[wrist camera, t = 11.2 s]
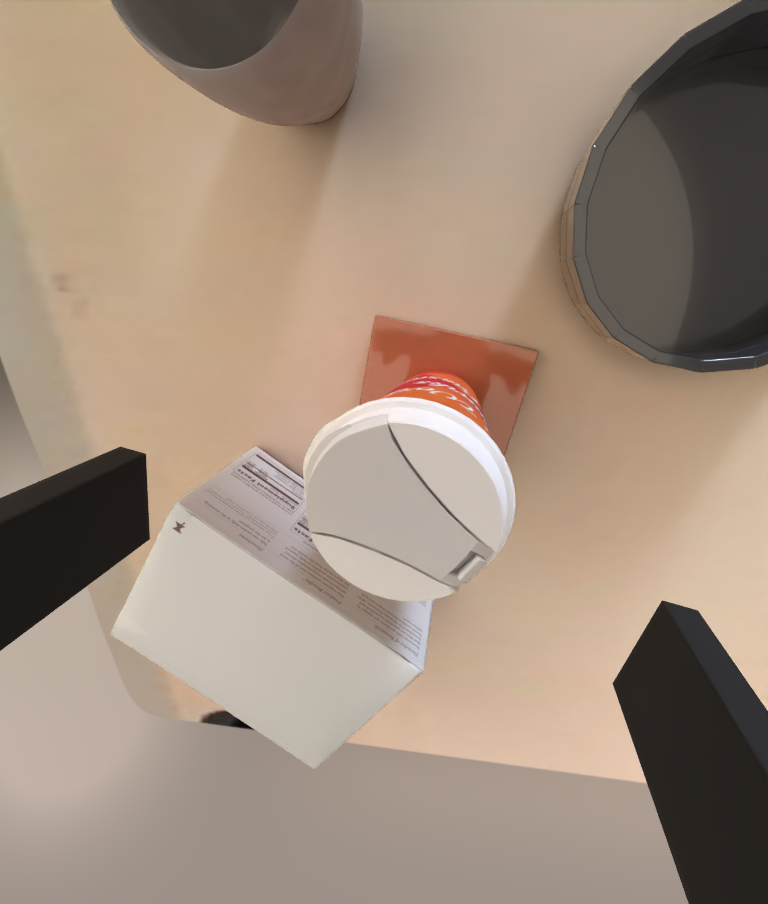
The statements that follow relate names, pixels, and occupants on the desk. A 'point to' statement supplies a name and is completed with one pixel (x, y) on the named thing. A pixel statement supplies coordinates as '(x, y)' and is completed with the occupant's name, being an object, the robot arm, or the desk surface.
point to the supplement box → (269, 614)
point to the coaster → (451, 368)
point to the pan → (680, 205)
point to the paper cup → (410, 491)
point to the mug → (255, 52)
